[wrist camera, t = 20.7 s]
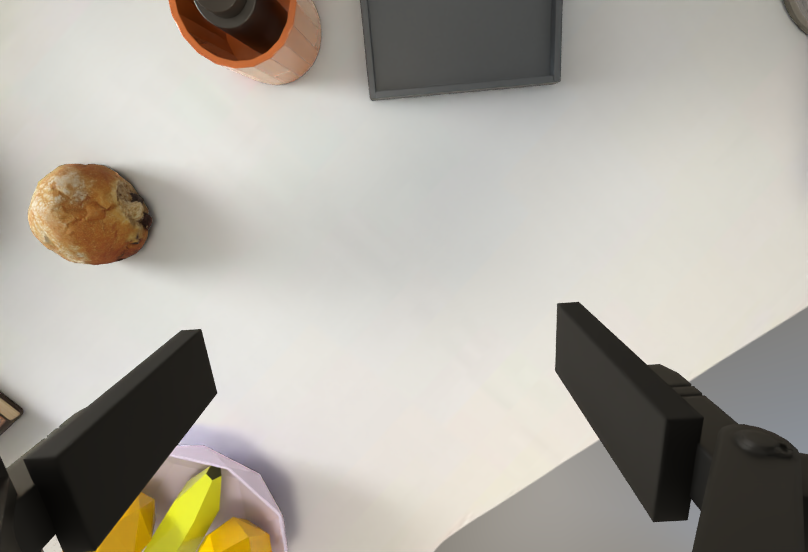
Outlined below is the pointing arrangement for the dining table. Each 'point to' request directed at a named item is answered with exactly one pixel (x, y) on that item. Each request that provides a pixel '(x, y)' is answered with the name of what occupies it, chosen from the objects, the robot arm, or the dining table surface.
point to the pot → (271, 67)
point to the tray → (460, 45)
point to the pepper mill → (247, 20)
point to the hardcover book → (8, 412)
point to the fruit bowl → (200, 509)
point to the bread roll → (88, 214)
